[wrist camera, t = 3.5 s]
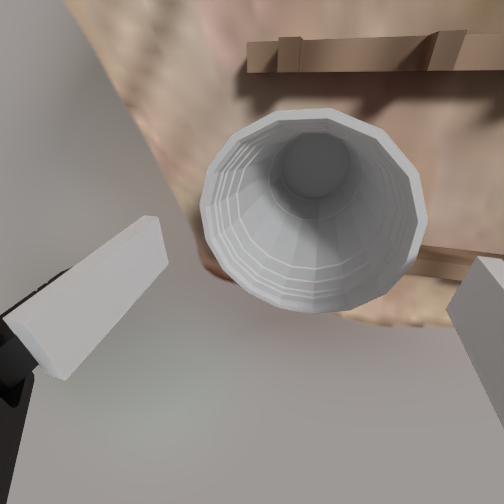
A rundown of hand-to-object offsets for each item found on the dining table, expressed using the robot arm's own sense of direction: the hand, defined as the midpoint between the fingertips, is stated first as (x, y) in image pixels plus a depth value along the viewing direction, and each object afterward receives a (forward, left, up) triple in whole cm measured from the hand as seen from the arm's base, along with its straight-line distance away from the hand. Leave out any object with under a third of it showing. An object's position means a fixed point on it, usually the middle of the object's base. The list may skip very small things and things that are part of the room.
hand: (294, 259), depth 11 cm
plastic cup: (0, 0, -14) cm, 14 cm away
